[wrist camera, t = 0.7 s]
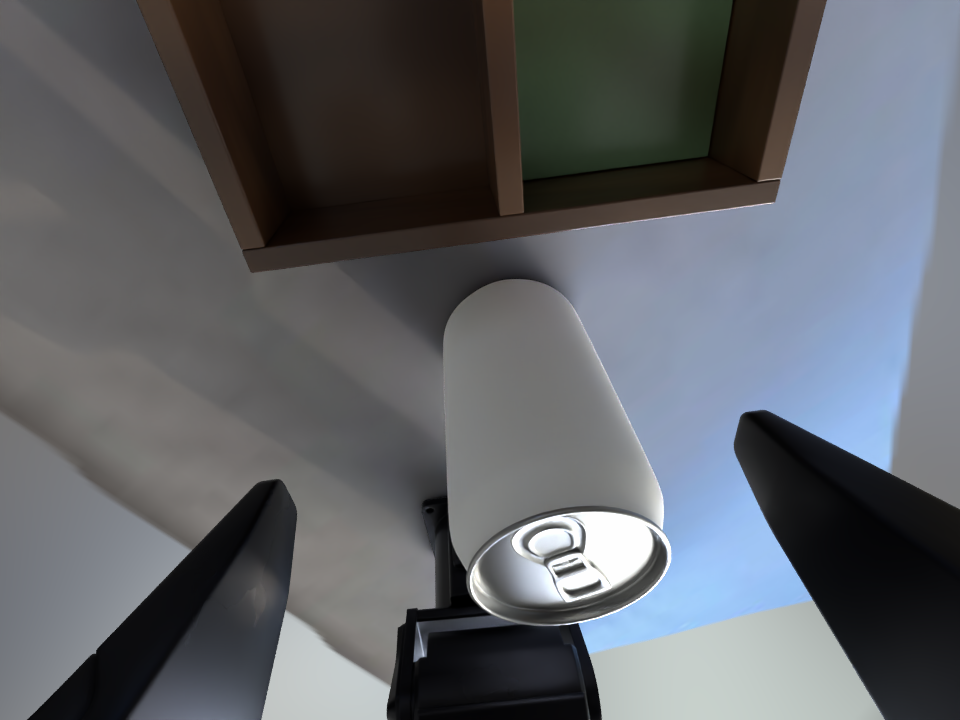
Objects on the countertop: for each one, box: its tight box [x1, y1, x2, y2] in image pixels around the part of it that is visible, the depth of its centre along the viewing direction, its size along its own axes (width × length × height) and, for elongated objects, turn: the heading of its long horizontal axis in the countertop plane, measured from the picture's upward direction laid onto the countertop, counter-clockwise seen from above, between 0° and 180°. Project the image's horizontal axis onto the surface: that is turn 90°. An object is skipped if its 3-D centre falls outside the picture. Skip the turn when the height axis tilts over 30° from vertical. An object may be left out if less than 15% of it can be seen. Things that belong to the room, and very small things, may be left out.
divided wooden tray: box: [136, 0, 827, 273], centre depth 15 cm, size 9×17×4 cm, turn 96°
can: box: [443, 279, 671, 626], centre depth 18 cm, size 6×6×12 cm
